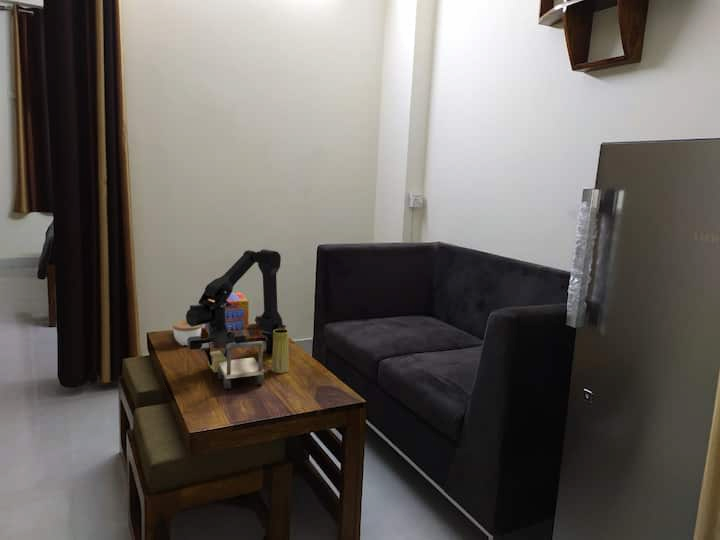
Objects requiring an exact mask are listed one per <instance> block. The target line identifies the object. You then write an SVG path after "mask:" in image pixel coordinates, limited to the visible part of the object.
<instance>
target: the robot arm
mask: <svg viewBox="0 0 720 540" xmlns="http://www.w3.org/2000/svg"><path fill="white" fill-rule="evenodd" d="M281 262H282V256H281V254H280V253H279V251H276V250H272V249H271V250H270V249H261V250H258V251H256V250H250V249H247V250H245V251H244V252H243V254H242V256H240V258H238V259H237V261H235V263H234V264H233V265H232V266H230V268H229V269H228V270H227V271H225V273H224V274H222V276H220V277H218V278H215V279H213V280H212V281H211V282H209V283H208V284H207V285H206V286H205V287H204V292H203V294H202V295H201V297H200V298H199V299H198V304H192V305H191V304H190V305H189V309H188V310H186V314H185V321H186V320H187V323H188V324H189V325H190V326H191V327H194V326H198V325H202V326H203V325H205V324H207V323H208V334H207V338H201V336H194V337H189V338H188V339H187V345H188V348H189V350H192V351H193V350H200V351H201V352H202V351H204V354H205V356H206V359H207V363H208V362H209V364H210V366H211V363H212V362H211V354H210V352H211V348H210V345H211V344H212V347H213V348H214V349H216V350H217V349H218V350H219V349H222V354H223V355H224V356H225V357H226V360H227V348H226V345H227V344H237V343H247V337H245V335H244V334H243V333H242V332H238V333H234V332H227V330H226V307H228V306H231V304H230V303H229V302H228V301H227V299H228V297H229V296H230V294H231V293H233V290H234V286H235V285H236V284H237V283H238V282H239V281H240V280H241V278H243V276H244V275H245V274H246V273H247V272H248V271H249V270H250V269H251V268H252V266H254V264H256V263H257V267H258V269H259V270H260V272H261V274H262V288H263V289H262V291H263V312H262V313H261V315H262V316H260V315H258V316H259V318H258V319H259V326H258V327H260V330H261V331H262V333H263V335H264V336H266V338H265V340H264V351H265V352H266V354H267V355H268V356H272V354H273V331H274V330H276V329H286V327H285V328H284V327H283V325H284V324H283V319H282V316H281V315H280V313H279V311H278V291H277V290H278V289H277V288H278V285H277V283H278V282H277V273H279V270H280V269H281ZM208 299H210V300H213V301H214V302H212V301H209V300H208ZM210 366H209V367H210Z"/></svg>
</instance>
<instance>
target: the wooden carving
mask: <svg viewBox="0 0 720 540" xmlns="http://www.w3.org/2000/svg"><path fill="white" fill-rule="evenodd" d="M259 316H262V314H260V315H256V316H255V319H254V321H255V323H256V324H248V326H247V327H246V329H247V330H248V336H249V337H250V338H255V337H259V338H262V339H266V336H264V335H263V333H262V331H261V330H260V327H258V326H259V319H258V318H259ZM283 327H284V328H285V329H286V328H287V324H283Z"/></svg>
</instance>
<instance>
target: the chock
mask: <svg viewBox="0 0 720 540" xmlns="http://www.w3.org/2000/svg"><path fill="white" fill-rule="evenodd" d="M210 354H211V362H212V363H211V366H210V364H209V362H208V361H207V363H208V366H209V368H210V369H211V370H212V371H213V372H214V373H218V367H219V366H218V361H227V359H226V357H225V356H224V355H223V351H221V350H215V351H210Z"/></svg>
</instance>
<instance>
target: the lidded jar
mask: <svg viewBox="0 0 720 540" xmlns="http://www.w3.org/2000/svg"><path fill="white" fill-rule="evenodd" d="M202 326H203V324H202V325H198V326H194V327H191V326H190V325H189V324H188V323H187V320H186V319H185V320H181V321H177V322H174V323H173V324H172V330H173V336H174V338H175V339H174V340H175V341H176V342H177V343H179V345H181V346H184V345H186V346H188V345H187V339H188V338H189V337H194V336H200V337H201V335H202ZM186 346H185V347H186Z"/></svg>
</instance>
